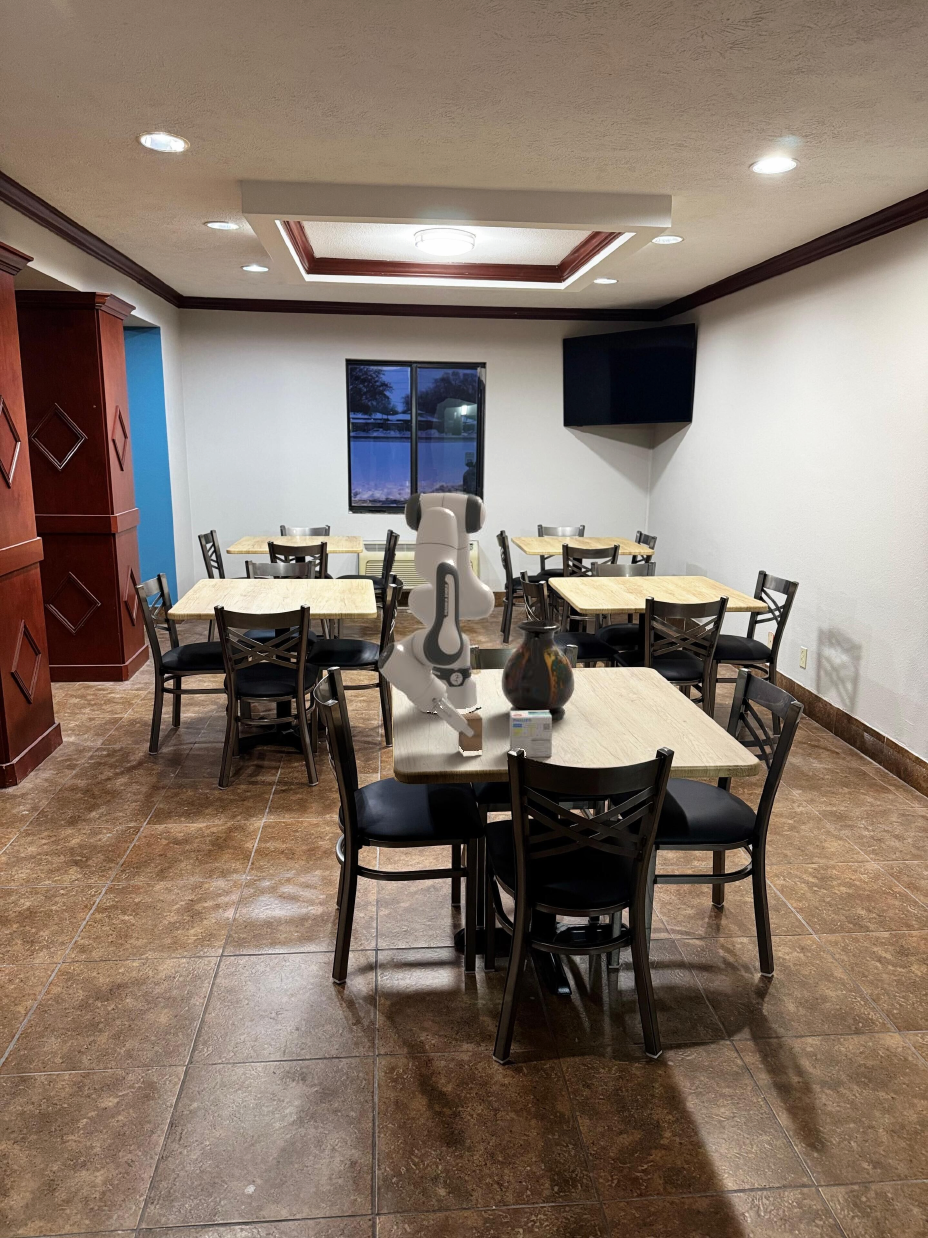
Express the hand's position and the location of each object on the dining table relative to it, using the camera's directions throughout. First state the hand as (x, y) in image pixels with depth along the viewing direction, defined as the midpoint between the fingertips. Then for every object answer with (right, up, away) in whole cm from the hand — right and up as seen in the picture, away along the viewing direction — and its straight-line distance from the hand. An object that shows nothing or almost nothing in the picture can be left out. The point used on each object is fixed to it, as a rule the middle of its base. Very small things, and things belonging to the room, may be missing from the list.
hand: (466, 729), depth 217 cm
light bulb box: (+16, -7, +1) cm, 18 cm away
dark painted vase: (+21, -1, +34) cm, 40 cm away
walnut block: (+1, -7, +1) cm, 7 cm away
